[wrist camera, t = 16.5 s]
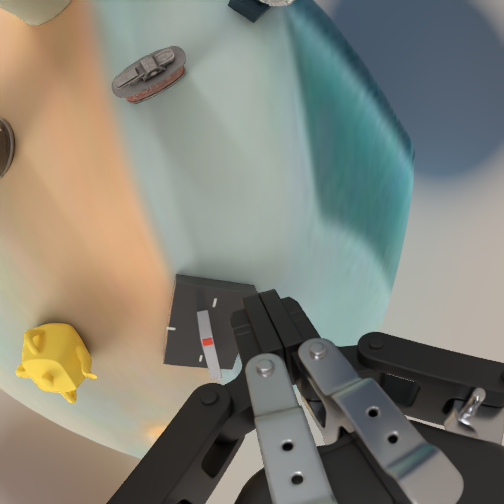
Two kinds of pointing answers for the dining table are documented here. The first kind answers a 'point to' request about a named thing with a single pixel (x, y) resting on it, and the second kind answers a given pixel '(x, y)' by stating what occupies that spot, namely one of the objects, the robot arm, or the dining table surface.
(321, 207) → the dining table surface
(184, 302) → the hob panel
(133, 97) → the lighter
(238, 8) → the watch
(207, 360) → the knob
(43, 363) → the teapot
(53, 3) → the can
